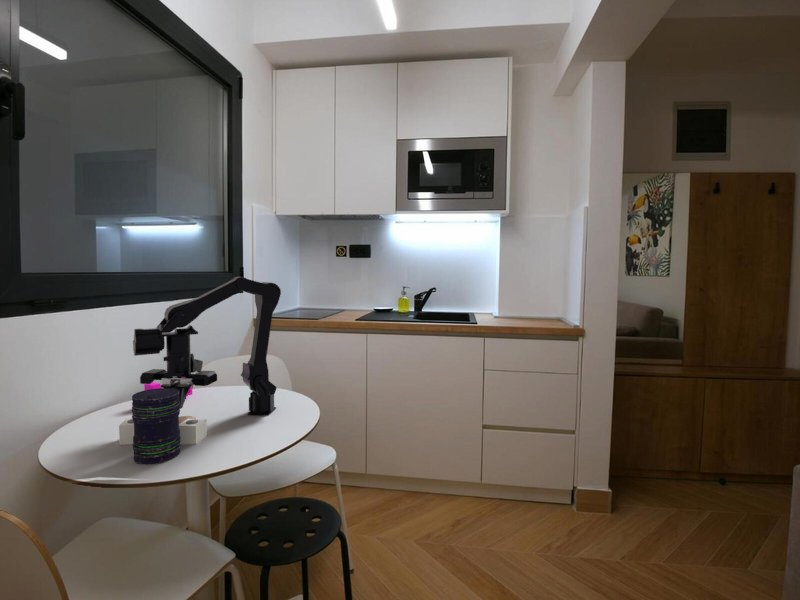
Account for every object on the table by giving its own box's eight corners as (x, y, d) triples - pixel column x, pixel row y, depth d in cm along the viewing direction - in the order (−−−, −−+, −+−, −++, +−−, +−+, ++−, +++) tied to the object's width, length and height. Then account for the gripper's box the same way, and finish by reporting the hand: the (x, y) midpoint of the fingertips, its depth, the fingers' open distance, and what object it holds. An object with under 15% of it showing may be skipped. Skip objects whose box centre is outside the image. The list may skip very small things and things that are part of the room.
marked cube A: (206, 438, 112) (206, 418, 111) (196, 445, 107) (195, 425, 106) (188, 437, 112) (188, 417, 112) (177, 444, 107) (176, 424, 107)
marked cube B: (148, 435, 113) (147, 416, 112) (142, 443, 108) (141, 423, 107) (126, 437, 111) (126, 417, 111) (119, 445, 106) (119, 424, 106)
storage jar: (147, 447, 105) (145, 387, 104) (188, 446, 106) (186, 387, 105) (123, 465, 95) (121, 400, 94) (169, 464, 96) (167, 399, 95)
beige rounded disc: (201, 426, 120) (201, 416, 120) (186, 437, 112) (186, 425, 112) (173, 426, 120) (173, 415, 120) (156, 436, 112) (156, 425, 112)
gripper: (226, 347, 122) (227, 400, 123) (164, 345, 123) (165, 398, 124) (205, 354, 111) (206, 413, 112) (137, 352, 112) (139, 410, 113)
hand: (179, 408), depth 116 cm, fingers closed
